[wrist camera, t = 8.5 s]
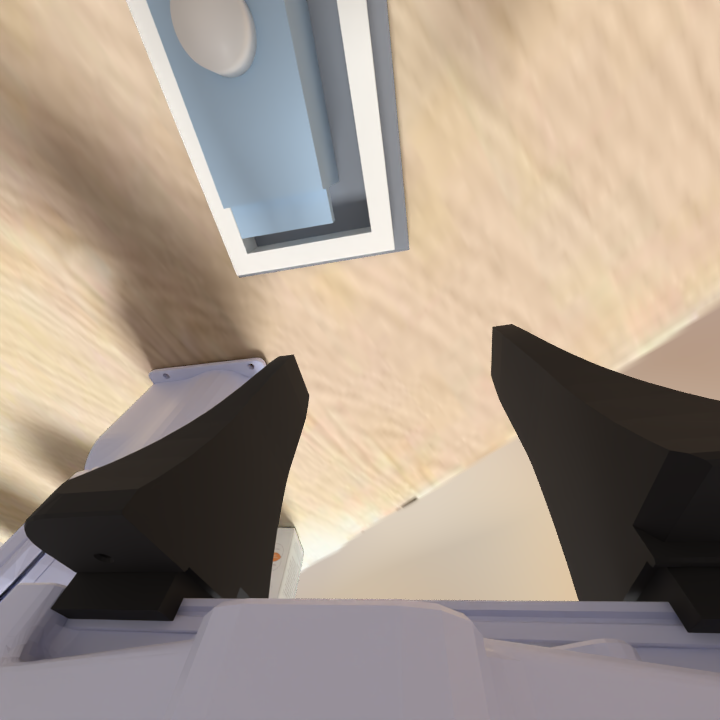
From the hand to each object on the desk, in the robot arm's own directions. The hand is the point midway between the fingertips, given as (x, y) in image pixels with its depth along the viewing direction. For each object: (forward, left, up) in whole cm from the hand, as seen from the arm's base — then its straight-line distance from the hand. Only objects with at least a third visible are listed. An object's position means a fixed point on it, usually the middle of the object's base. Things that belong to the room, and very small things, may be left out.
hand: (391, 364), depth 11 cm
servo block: (-4, +9, -8) cm, 12 cm away
